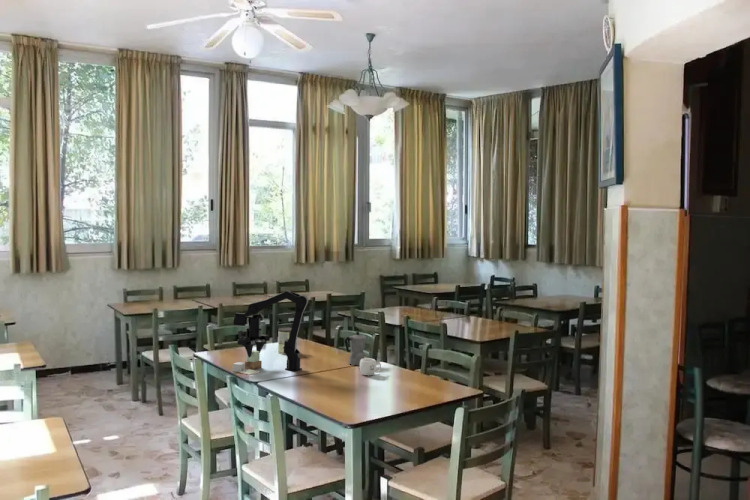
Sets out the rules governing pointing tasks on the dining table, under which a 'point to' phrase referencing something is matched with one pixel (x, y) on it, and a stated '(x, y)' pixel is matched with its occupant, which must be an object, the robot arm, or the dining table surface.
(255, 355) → the sage block
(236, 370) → the grey block
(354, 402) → the dining table surface
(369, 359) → the mug
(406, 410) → the dining table surface
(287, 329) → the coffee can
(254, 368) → the walnut block
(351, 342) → the coffeepot
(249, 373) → the swatch tile
